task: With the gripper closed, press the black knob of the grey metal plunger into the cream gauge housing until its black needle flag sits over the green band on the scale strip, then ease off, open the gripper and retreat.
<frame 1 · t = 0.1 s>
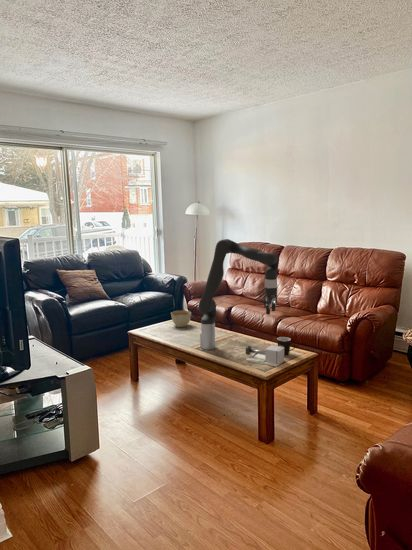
hand: (270, 312, 247), 29 cm above the table, fingers open, 8 cm apart
plunger: (257, 352, 250), point 5 cm above the table, slide at 0.0 cm
gauge body: (263, 360, 250), on the table
coffee mug: (285, 355, 258), on the table
planter bowl: (181, 326, 329), on the table
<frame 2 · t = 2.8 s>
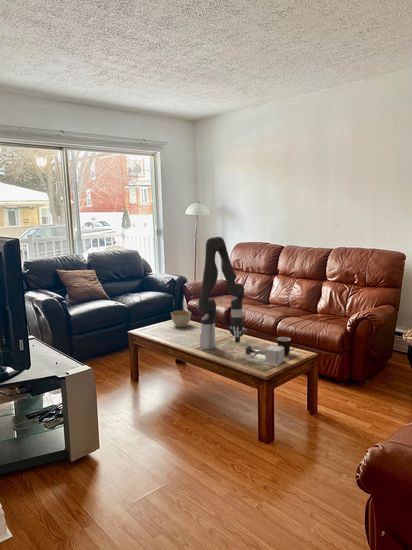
hand: (237, 342, 258), 9 cm above the table, fingers closed
nothing on the table moved.
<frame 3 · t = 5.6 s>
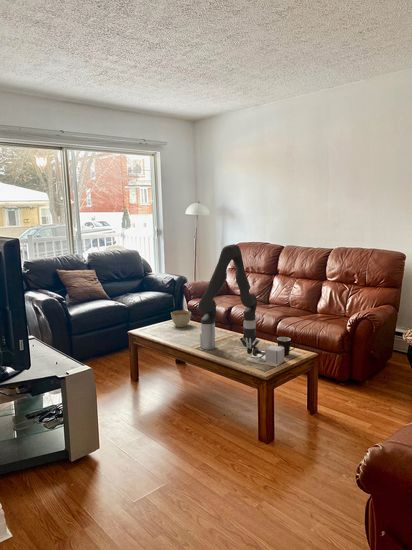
hand: (249, 353, 254), 3 cm above the table, fingers closed
plunger: (264, 354, 247), point 5 cm above the table, slide at 4.7 cm, touching hand
everything else where it was.
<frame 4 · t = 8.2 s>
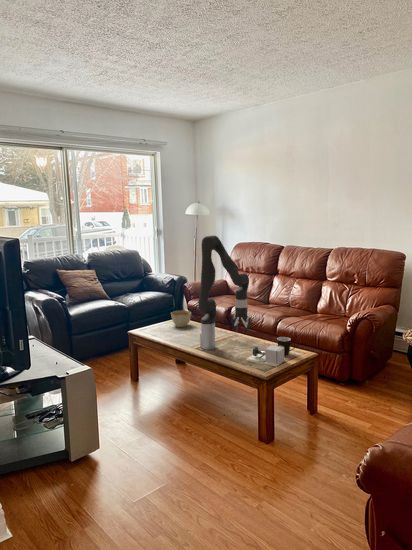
hand: (241, 332, 255), 16 cm above the table, fingers open, 6 cm apart
plunger: (264, 354, 247), point 5 cm above the table, slide at 4.7 cm
everything else where it was.
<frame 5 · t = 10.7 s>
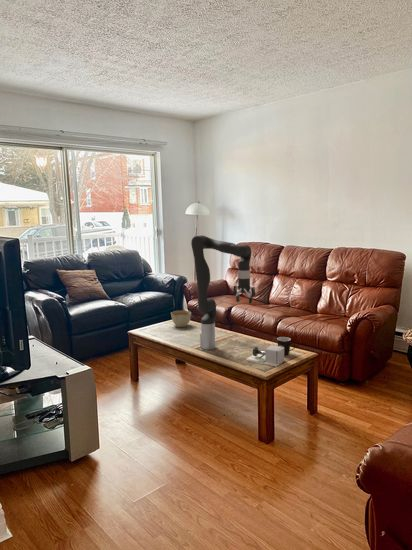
hand: (244, 302, 258), 33 cm above the table, fingers open, 8 cm apart
nothing on the table moved.
at the end: plunger slide at 4.7 cm; plunger touching nothing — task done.
